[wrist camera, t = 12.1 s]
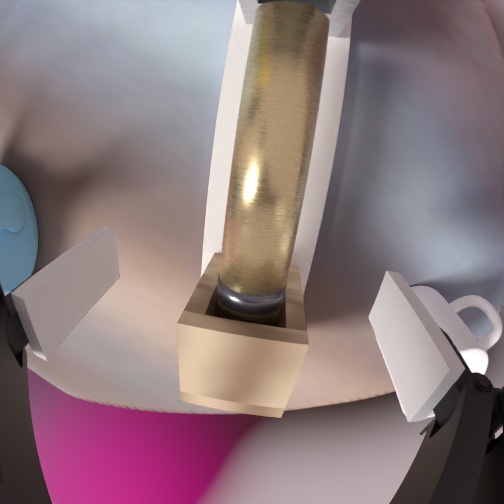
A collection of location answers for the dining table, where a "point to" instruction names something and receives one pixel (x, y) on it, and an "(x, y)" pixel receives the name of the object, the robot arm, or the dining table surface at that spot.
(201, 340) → the socket block
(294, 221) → the slip tube
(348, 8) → the sleeve
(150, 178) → the dining table surface
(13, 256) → the teapot
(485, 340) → the cup
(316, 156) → the base rail
